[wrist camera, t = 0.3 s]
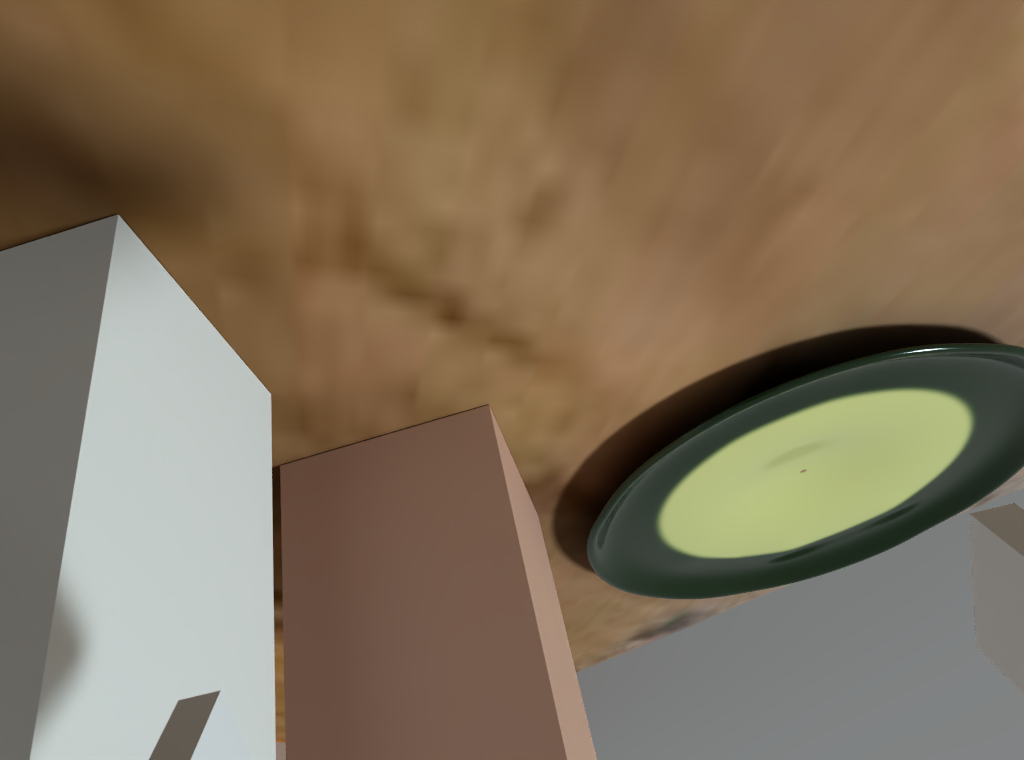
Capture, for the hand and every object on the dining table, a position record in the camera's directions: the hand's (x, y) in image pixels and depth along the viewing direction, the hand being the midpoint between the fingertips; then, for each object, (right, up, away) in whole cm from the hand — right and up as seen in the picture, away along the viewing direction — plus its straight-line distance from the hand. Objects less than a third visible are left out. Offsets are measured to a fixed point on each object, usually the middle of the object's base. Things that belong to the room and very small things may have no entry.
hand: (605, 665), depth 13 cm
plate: (+16, 0, +34) cm, 37 cm away
